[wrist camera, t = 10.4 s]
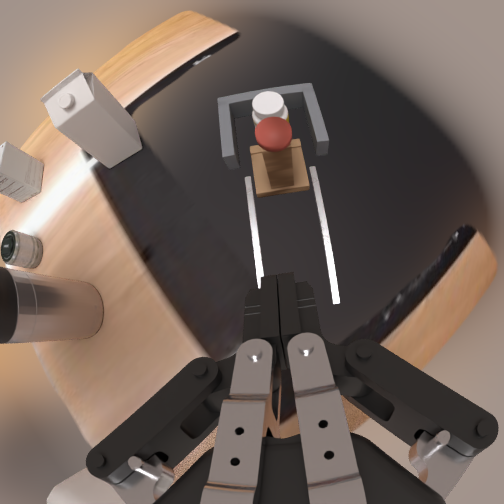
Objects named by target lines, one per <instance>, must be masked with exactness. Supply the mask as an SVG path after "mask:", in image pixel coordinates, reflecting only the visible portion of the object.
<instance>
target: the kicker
mask: <svg viewBox="0 0 504 504" xmlns="http://www.w3.org/2000/svg"><path fill="white" fill-rule="evenodd" d="M255 136H256V139H257V142H258V144H259V145H256V146H250V152H251V158H252V165H253V172H254V179H255V186H256V193H257V196H258V198H260V197H266V196H273V195H279V194H285V193H292V192H298V191H306V190H309V181H308V176H307V171H306V167H305V163H304V157H303V153H302V149H301V143H300V139H294V140H292V130H291V126H290V124H289V123H288V122H287V121H286V120H285V119H283V118H280V117H268V118H265V119H263V120H261V121H260V122H259V123H258V124H257V126H256V128H255Z"/></svg>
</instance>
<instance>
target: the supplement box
mask: <svg viewBox="0 0 504 504" xmlns="http://www.w3.org/2000/svg"><path fill="white" fill-rule="evenodd" d="M43 167H44V164H43V163H42V162H40V161H38V160H37V159H35V158H33V157H32V156H30V155H28V154H27V153H25V152H23V151H22V150H20V149H18V148H17V147H15V146H13V145H12V144H10V143H9V142H7V141H6V142H5V143H3V144H2V145H1V146H0V193H1V194H3V195H6V196H8V197H10V198H12V199H15V200H17V201H19V202H24V201H26V200H28V199H29V198H31V197H33V196H35V195H37V194H38V193H40V192H41V183H42V174H43Z"/></svg>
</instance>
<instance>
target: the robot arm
mask: <svg viewBox="0 0 504 504" xmlns="http://www.w3.org/2000/svg"><path fill="white" fill-rule="evenodd" d="M102 320H103V305H102V300H101V297H100V295H99V293H98V291H97V290H96V289H95V288H94V286H92V285H91V284H89V283H86V282H81V281H75V280H69V279H63V278H57V277H51V276H46V275H40V274H35V273H29V272H24V271H18V270H13V269H8V268H3V267H0V343H1V344H2V343H25V342H43V341H58V340H72V339H82V338H89V337H92V336H93V335H95V334H96V333H97V331H98V330H99V328H100V326H101V323H102ZM286 361H287V367H288V369H291V375H292V381H293V388H294V395H295V402H296V408H297V415H298V422H299V428H300V434H298V435H295V436H292V437H289V438H285V439H280V429H279V418H280V401H281V370H285V369H286ZM341 395H343V396H344V397H345V398H346V399H347V400H348V401H349V402H351V403H352V404H353V405H355V406H356V407H357V408H359V409H360V410H361V411H363V412H364V413H365V414H367V415H368V416H369V417H371V418H372V419H373V420H375V421H376V422H377V423H379V424H380V425H381V426H383V427H384V428H386V429H387V430H388V431H390V432H391V433H393V434H394V435H395V436H397V437H398V438H400V439H401V440H402V441H404V442H405V443H407V444H408V445H410V446H411V448H410V451H409V461H410V463H411V465H412V466H413V467H414V468H415V469H416V470H417V472H418V475H419V479H418V478H417V477H416V476H414V475H413V474H412V473H410V472H409V471H408V470H406V469H405V468H404V467H403V466H401V465H400V464H399V463H397V462H396V461H395V460H393V459H392V458H391V457H390V456H389V455H387V454H386V453H385V452H384V451H382V450H381V449H380V448H379V447H377V446H376V445H375V444H374V443H372V442H371V441H370V440H368V439H367V438H365V437H363V436H360V435H358V434H355V433H351V432H349V428H348V423H347V419H346V415H345V411H344V407H343V403H342V399H341ZM217 426H218V429H217V435H216V440H215V446H214V447H212V448H211V449H209V450H208V451H207V452H205V453H204V454H203V455H202V456H201V457H200V458H199V459H198V460H197V461H196V462H195V463H194V464H193V465H192V466H191V467H190V468H189V469H188V470H187V471H186V472H185V473H184V474H183V475H182V476H181V477H180V478H179V479H178V480H177V481H176V482H175V483H174V484H173V485H172V486H171V487H170V485H171V484H172V483H173V481H174V471H173V468H174V467H175V466H177V465H178V464H179V463H180V462H181V461H182V460H183V459H184V458H185V457H186V456H187V455H188V454H189V453H190V452H191V451H193V450H194V449H195V448H196V447H197V446H198V445H199V444H200V443H201V442H202V441H203V440H204V439H205V438H206V437H207V436H208V435H209V434H210V433H211V432H212V431H213V430H214V429H215V428H216V427H217ZM497 435H498V422H497V420H496V418H495V417H494V416H493V415H492V414H490V413H489V412H487V411H485V410H484V409H482V408H481V407H479V406H477V405H476V404H474V403H472V402H471V401H469V400H468V399H466V398H464V397H463V396H461V395H460V394H458V393H456V392H455V391H453V390H451V389H450V388H448V387H447V386H445V385H443V384H442V383H440V382H438V381H437V380H435V379H434V378H432V377H430V376H429V375H427V374H426V373H424V372H422V371H421V370H419V369H418V368H416V367H415V366H413V365H411V364H410V363H408V362H407V361H405V360H403V359H402V358H400V357H399V356H397V355H395V354H394V353H392V352H391V351H389V350H387V349H386V348H384V347H383V346H381V345H380V344H378V343H376V342H375V341H373V340H370V339H359V340H356V341H354V342H352V343H351V344H350V345H349V346H342V345H335V344H332V343H330V342H328V341H327V340H326V339H324V337H323V336H322V334H321V330H320V325H319V319H318V314H317V309H316V303H315V299H314V293H313V288H312V287H311V286H310V285H309V284H308V283H307V281H306V282H300V283H295V280H294V274H293V272H290V273H282V274H278V279H277V275H268V276H261V277H260V288H256V289H250V291H249V293H248V294H247V296H246V298H245V316H244V330H243V343H242V345H241V346H240V347H239V348H238V350H237V353H236V354H234V355H233V356H231V357H229V358H227V359H224V360H221V361H218V362H215V361H214V360H213V359H211V358H208V357H200V358H196V359H194V360H192V361H191V362H190V363H188V364H187V365H186V366H185V367H184V368H183V369H182V370H181V371H180V372H179V373H178V374H177V375H176V376H174V377H173V378H172V379H171V380H170V381H169V382H168V383H167V384H166V385H165V386H164V387H162V388H161V389H160V390H159V391H158V392H157V393H156V394H155V395H154V396H152V397H151V398H150V399H149V400H148V401H147V402H146V403H145V404H144V405H142V406H141V407H140V408H139V409H138V410H137V411H136V412H135V413H133V414H132V415H131V416H130V417H129V418H128V419H127V420H125V421H124V422H123V423H122V424H121V425H120V426H119V427H117V428H116V429H115V430H114V431H113V432H112V433H110V434H109V435H108V436H107V437H106V438H105V439H103V440H102V441H101V442H100V443H99V444H98V445H96V446H95V447H94V448H93V449H92V450H91V451H90V452H89V453H88V455H87V458H86V466H87V469H88V471H89V472H90V474H91V475H93V476H94V477H96V478H99V479H101V480H103V481H105V482H106V483H108V484H110V485H111V486H112V487H113V489H114V490H115V491H116V492H117V494H118V495H119V496H120V497H121V499H122V500H123V501H124V502H125V504H446V503H445V501H444V500H445V498H446V497H447V496H448V495H449V493H450V492H451V491H452V489H453V488H454V486H455V485H456V484H457V482H458V481H459V480H460V478H461V477H462V475H463V474H464V472H465V471H466V469H467V468H468V466H469V465H470V463H471V461H472V460H473V458H474V457H475V456H476V455H477V454H479V453H480V452H482V451H483V450H484V449H486V448H487V447H488V446H490V445H491V444H492V443H493V442H494V441H495V439H496V437H497ZM169 487H170V488H169ZM168 488H169V489H168Z"/></svg>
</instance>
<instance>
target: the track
mask: <svg viewBox="0 0 504 504" xmlns="http://www.w3.org/2000/svg"><path fill="white" fill-rule="evenodd" d="M309 171H310V175H311V180H312V184H313V189H314V194H315V199H316V204H317V209H318V214H319V220H320V226H321V231H322V236H323V242H324V248H325V254H326V260H327V266H328V273H329V280H330V287H331V294H332V301H333V304H336V303H340V301H339V294H338V286H337V280H336V273H335V266H334V260H333V254H332V248H331V243H330V237H329V231H328V226H327V221H326V215H325V210H324V205H323V200H322V195H321V191H320V186H319V181H318V177H317V172H316V168H315V166H313V167H310V168H309ZM245 182H246V190H247V198H248V207H249V214H250V222H251V231H252V239H253V247H254V255H255V263H256V271H257V280H258V288H260V277H261V276H264V272H263V263H262V255H261V248H260V240H259V232H258V224H257V217H256V210H255V201H254V194H253V187H252V179H251V176H249V177H245Z"/></svg>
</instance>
